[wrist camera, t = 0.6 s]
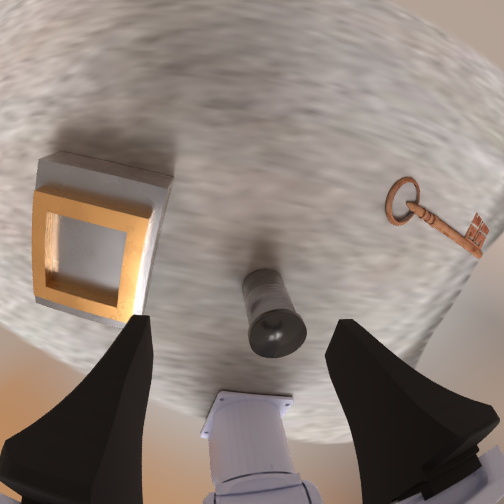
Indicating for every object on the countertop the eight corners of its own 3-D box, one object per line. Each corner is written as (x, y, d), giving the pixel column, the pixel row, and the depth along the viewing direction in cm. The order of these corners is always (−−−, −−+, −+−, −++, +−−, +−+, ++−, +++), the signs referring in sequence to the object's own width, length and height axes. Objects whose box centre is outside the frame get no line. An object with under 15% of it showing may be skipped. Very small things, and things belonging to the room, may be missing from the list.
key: (490, 221, 24) (405, 146, 19) (496, 223, 23) (413, 147, 18) (468, 269, 25) (375, 215, 21) (474, 273, 24) (382, 218, 20)
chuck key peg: (275, 309, 23) (292, 360, 18) (233, 300, 22) (241, 354, 17) (292, 272, 22) (316, 320, 17) (248, 261, 21) (261, 310, 16)
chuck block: (145, 306, 21) (136, 342, 18) (51, 280, 19) (30, 310, 16) (174, 177, 18) (165, 193, 14) (61, 151, 16) (30, 162, 12)
